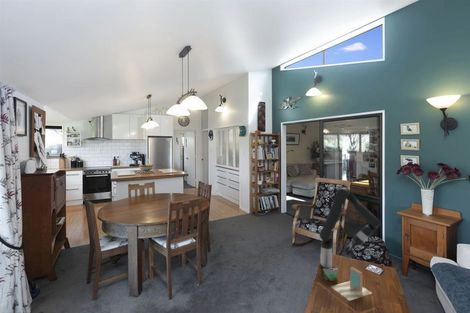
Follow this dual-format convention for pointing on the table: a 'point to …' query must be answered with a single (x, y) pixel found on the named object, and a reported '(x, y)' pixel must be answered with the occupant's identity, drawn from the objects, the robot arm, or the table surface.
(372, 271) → the table surface
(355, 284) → the tile
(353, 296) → the board
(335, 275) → the food container
